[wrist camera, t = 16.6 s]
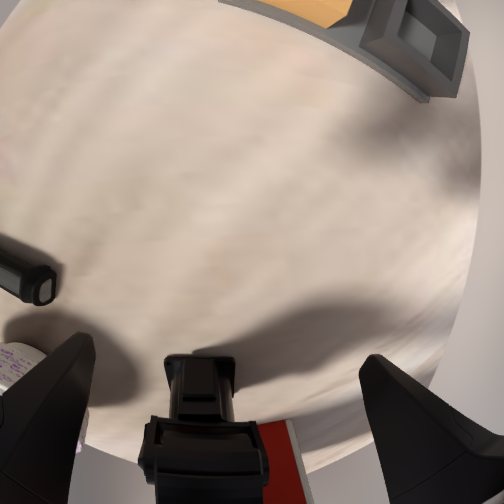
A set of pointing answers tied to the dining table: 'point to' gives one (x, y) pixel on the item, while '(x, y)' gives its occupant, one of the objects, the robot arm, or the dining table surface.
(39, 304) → the electric trimmer
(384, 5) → the two-tone square organizer tray
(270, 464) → the arched-top grey box
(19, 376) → the paper bowls
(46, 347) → the dining table surface
